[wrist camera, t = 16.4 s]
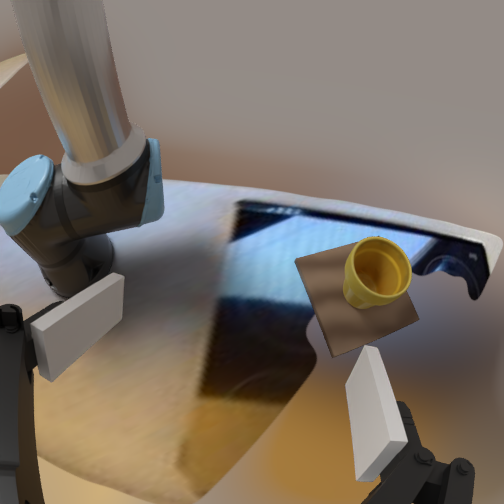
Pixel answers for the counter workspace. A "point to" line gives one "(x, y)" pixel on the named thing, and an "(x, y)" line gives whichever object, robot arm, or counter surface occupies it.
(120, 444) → the counter surface
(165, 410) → the counter surface
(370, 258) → the plant pot
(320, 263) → the walnut board
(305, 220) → the counter surface
